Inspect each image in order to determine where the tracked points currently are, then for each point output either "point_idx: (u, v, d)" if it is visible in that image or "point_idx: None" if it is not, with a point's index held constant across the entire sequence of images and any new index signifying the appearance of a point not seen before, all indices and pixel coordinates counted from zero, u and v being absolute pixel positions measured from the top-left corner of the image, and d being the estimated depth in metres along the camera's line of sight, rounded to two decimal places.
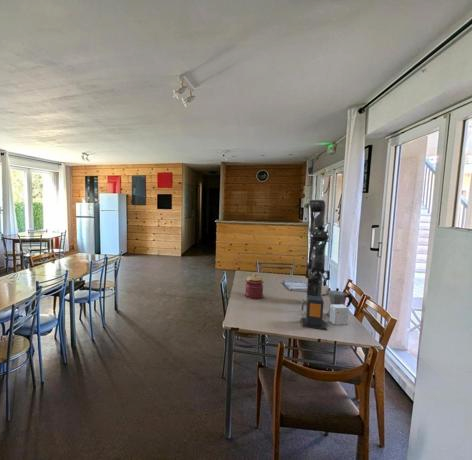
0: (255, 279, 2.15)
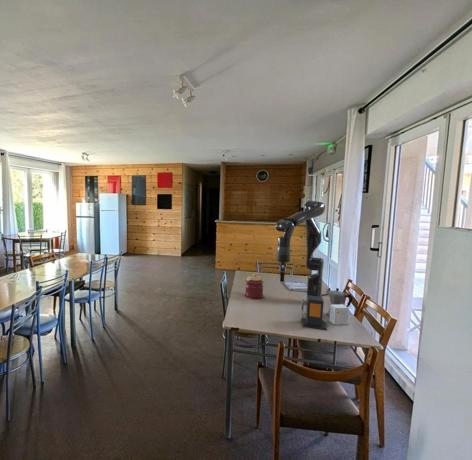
0: (255, 279, 2.15)
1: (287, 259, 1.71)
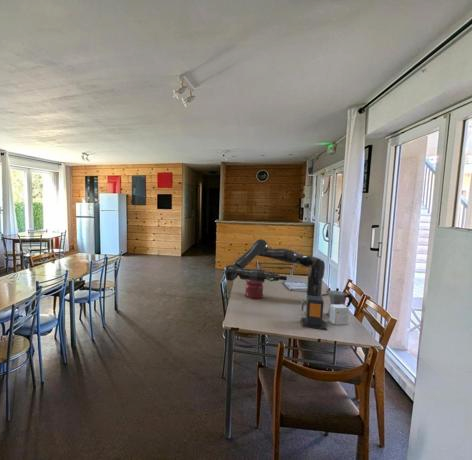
0: None
1: (261, 272, 1.77)
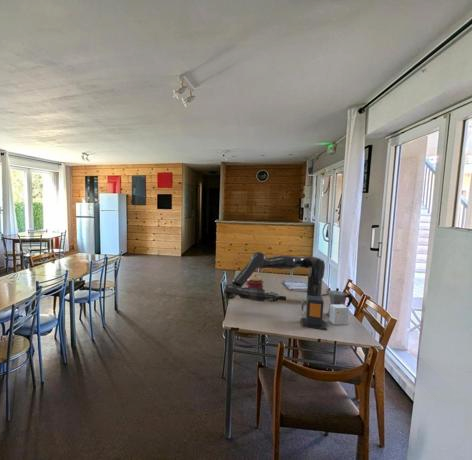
0: (255, 279, 2.15)
1: (261, 292, 1.78)
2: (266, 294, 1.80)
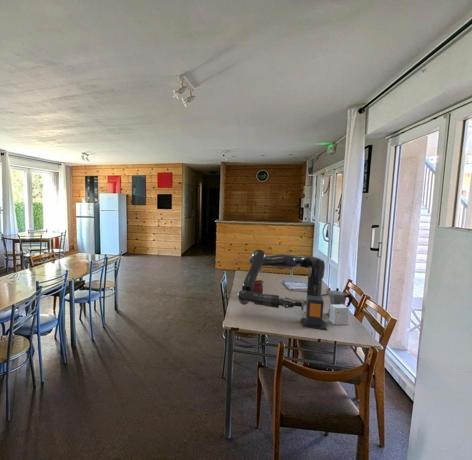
0: None
1: (276, 298, 1.75)
2: (281, 300, 1.77)
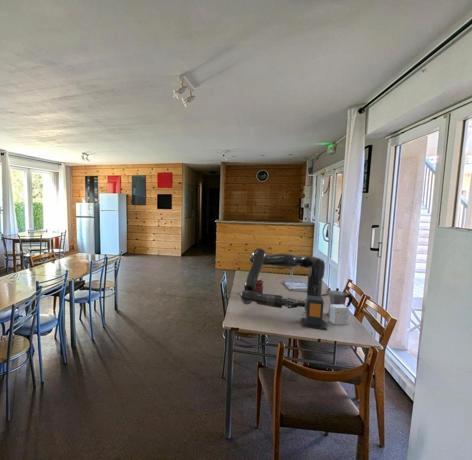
0: None
1: (279, 298, 1.75)
2: (284, 300, 1.76)
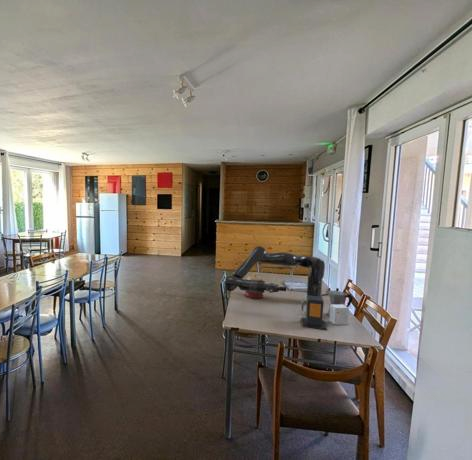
0: (255, 279, 2.15)
1: (261, 283, 1.78)
2: (266, 285, 1.79)
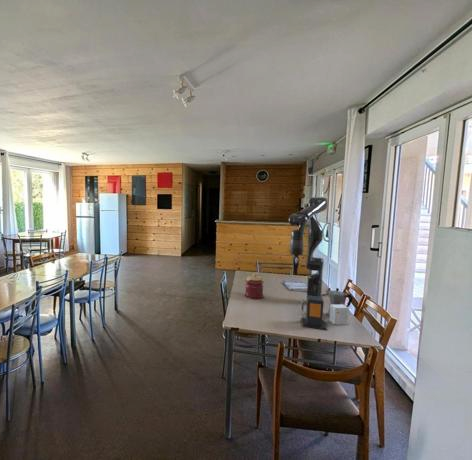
0: (255, 279, 2.15)
1: (301, 252, 1.76)
2: None
